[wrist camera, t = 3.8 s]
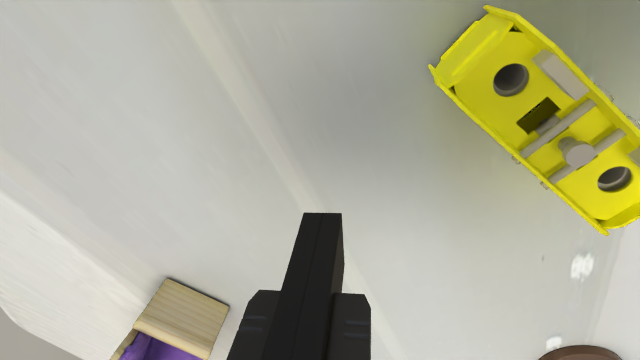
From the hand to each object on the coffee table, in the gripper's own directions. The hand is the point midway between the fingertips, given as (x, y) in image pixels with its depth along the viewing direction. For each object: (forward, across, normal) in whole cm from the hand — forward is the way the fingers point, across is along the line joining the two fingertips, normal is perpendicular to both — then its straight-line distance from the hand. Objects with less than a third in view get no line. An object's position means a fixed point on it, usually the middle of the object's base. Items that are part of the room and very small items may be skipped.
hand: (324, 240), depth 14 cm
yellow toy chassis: (+16, +13, 0) cm, 21 cm away
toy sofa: (+16, -24, -30) cm, 42 cm away
